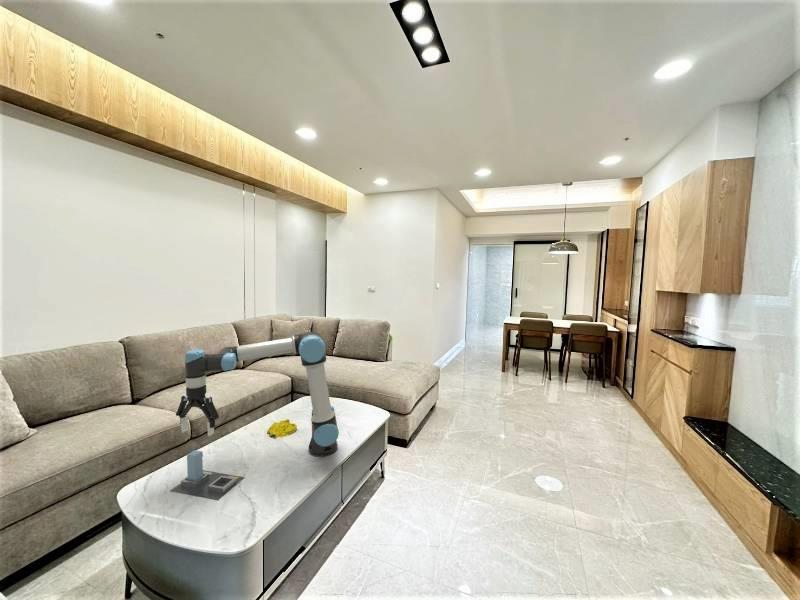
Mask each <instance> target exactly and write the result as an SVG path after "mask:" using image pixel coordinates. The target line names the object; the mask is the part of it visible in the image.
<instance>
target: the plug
mask: <svg viewBox="0 0 800 600" xmlns="http://www.w3.org/2000/svg"><path fill="white" fill-rule="evenodd" d="M203 454H204V452H203V451H201V450H198V449H197V450H192V451H191V452H190V453H188V454H187V455H186V464H187V465H186V466H187V467H186V468H187V476H188V481H193V482H196V481H197V480H199V479H200V478H202V477H203V470H204V469H203V467H204V466H203V457H204V455H203Z"/></svg>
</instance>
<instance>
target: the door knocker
mask: <svg viewBox="0 0 800 600" xmlns="http://www.w3.org/2000/svg"><path fill="white" fill-rule="evenodd" d="M296 430H298V429H297V424H296V423H291V422H290V419H287V418H286V419H284V420H280V421H279V422H273V424H271V425H270V426H269V428H268V429H267V430H266V431H267V432H266V433H267V434H268V435H269V437H270V436H271V437H272V436H273V435H274V437H275V438H274V439H277V438H284V437H287V436H290V435H292V434H295V432H296Z"/></svg>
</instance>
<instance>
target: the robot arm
mask: <svg viewBox="0 0 800 600" xmlns="http://www.w3.org/2000/svg"><path fill="white" fill-rule="evenodd" d="M325 344H326V343H325V341H324V340H323V338H322V337H321V335H320V334H319V333H317V332H315V331H309V332H303V333H299V334H298V333H297V334H293V335H292V336H291V337H285V338H279V339H273V340H267V341H262V342H260V341H259V342H256V343H249V344H243V345H237V346H230V345H228V346H224V347H223V348H221V349H220V350H219V351H218V352H217V353H212V354H211V353H210V354H207V353H206V350H204V349H192V350H188V351H187V352H185V355H184V367H185V368H184V370H185V386H186V388H185V395H182V396H181V397H180V403H179V406H178V408H177V410H176V412H175V416H176V417H178V418H179V419H180V423H179V424H180V425H181V433H182V434H184V433H186V432H187V431H189V416H188V413H189V411H191V409H192V408H198V409H199V410H201V412H202V413H203V414H204V415H205V416H206V419H207V436H208V437H211V436H212V435H214V434H215V426H216V424H215V423H216V420H217V419H219V418H220V415H219V413H218V410H217V408H216V406H215V404H214V402H213V397H212V396H209V397H206V394H207V385H206V384H207V372H222V371H224V372H227V371H232V370H236V366H237V363H238V362H243V361H245V362H246V361H250V360H256V359H261V358H266V357H273V356H279V355H286V354H292V353H294V354H295V355H296V354H299V355H300V359H301V360H300V362H301V366H302V367H303V368H305V370H306V371H305V372H306V375H307V376H306V377H307V378H306V379H307V382H308V383H307V384H308V389H309V395H310V400H311V401H310V402H311V407H312V410H311V413H310V414H311V418H310V420H311V438H310V441H309V444H308V453H309V454H310V455H312V456H314V457H326V456H330V455H333V454H334V453H335V452H337V450H338V448H339V447H338V441H337V440H338V438H339V434H340V433H339V431H340V430H339V428H338V423H337V417H336V412H335V407H334V406H332V405H331V400H330V394H329V393H330V392H329V388H328V381H327V375H326V369H325V368H326V367H325V363H326V362H327V355H326V345H325Z"/></svg>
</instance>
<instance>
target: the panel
mask: <svg viewBox="0 0 800 600" xmlns="http://www.w3.org/2000/svg"><path fill="white" fill-rule="evenodd" d="M245 478H246V477H245V476H241V475H240V476H239V475H232V474H229V473H228V474H227V473H223V472H217V471H216V472H215V471H209V470H204V469H203V477H202V478H200V479H199V480H197V481H196V482H193V481H188V475H187V476H186V477H185V478H182V479H181V480H180V484H178V485H176V486H175V487H173V488H172V489H170V492H171V493H177V494H182V495H187V496H191V497H192V496H193V497H198V498H203V499H208V500H212V501H219V500H220V499H222V498H223V497H224V496H225V495H226V494H228V493H229V492H230V491H231V490H232V489H233V488H234V487H236V486H237V485H238V484H239V483H241V481H244V479H245Z"/></svg>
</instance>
